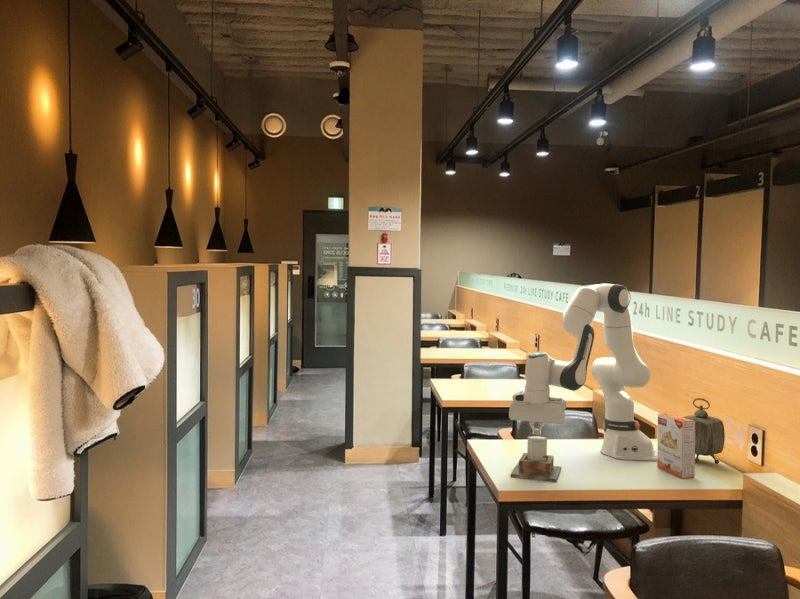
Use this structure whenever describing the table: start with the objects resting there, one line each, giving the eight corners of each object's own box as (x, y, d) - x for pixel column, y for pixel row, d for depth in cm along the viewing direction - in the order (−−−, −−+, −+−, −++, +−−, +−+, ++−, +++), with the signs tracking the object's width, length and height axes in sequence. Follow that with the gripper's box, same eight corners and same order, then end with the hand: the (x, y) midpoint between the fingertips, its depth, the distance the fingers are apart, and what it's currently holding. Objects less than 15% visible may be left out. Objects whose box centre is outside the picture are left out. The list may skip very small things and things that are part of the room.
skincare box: (531, 472, 223) (532, 439, 223) (526, 468, 228) (526, 436, 227) (547, 471, 225) (547, 438, 224) (541, 467, 229) (542, 435, 229)
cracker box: (656, 467, 233) (657, 413, 233) (669, 466, 235) (670, 412, 234) (680, 479, 220) (681, 421, 219) (695, 478, 221) (696, 420, 220)
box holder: (561, 469, 231) (561, 454, 231) (556, 482, 216) (556, 466, 216) (518, 464, 236) (518, 450, 236) (510, 476, 221) (510, 461, 221)
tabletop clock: (724, 464, 237) (725, 400, 237) (710, 468, 233) (711, 402, 232) (689, 455, 250) (690, 394, 249) (675, 458, 245) (677, 396, 245)
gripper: (567, 397, 225) (566, 434, 225) (511, 393, 232) (510, 429, 232) (565, 400, 219) (564, 438, 219) (508, 395, 226) (507, 433, 226)
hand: (536, 433), depth 226 cm, fingers closed
